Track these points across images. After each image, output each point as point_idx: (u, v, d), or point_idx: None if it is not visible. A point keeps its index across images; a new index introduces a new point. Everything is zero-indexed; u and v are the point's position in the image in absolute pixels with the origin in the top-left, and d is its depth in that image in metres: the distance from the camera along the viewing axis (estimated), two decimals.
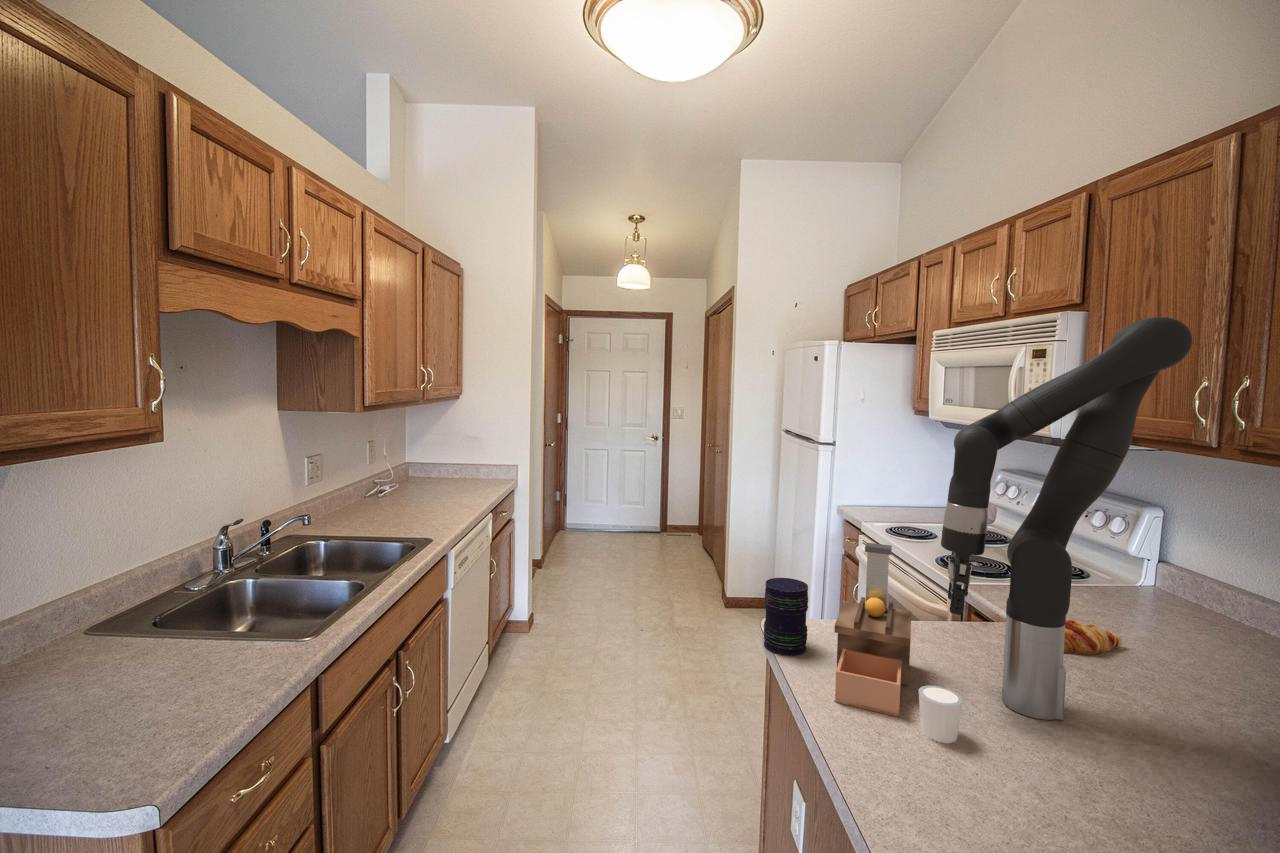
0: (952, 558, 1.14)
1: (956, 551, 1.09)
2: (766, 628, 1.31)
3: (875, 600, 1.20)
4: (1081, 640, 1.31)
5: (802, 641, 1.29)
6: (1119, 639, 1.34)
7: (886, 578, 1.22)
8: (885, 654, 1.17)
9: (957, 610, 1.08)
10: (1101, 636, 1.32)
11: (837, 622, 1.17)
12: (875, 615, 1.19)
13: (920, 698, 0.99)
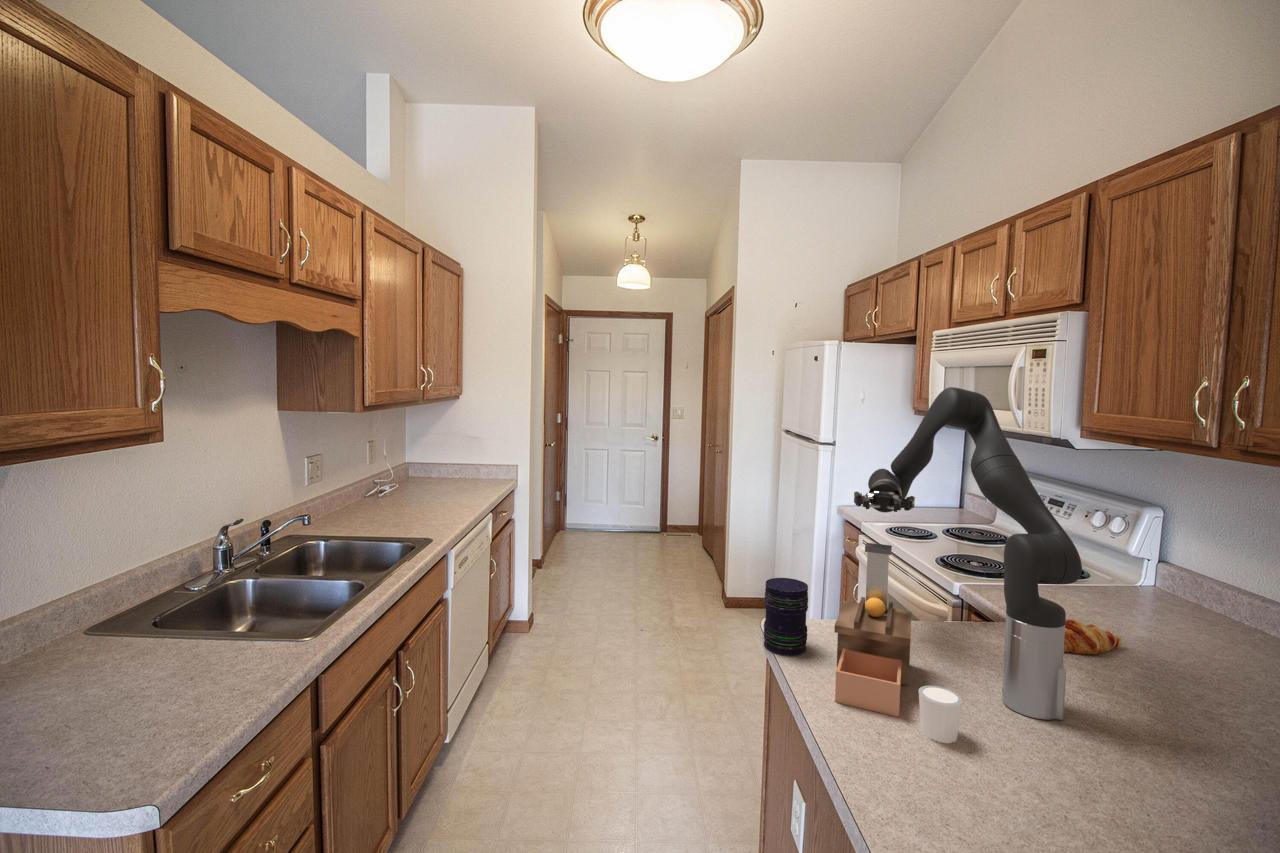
0: None
1: None
2: (766, 628, 1.31)
3: (875, 600, 1.20)
4: (1081, 640, 1.31)
5: (802, 641, 1.29)
6: (1119, 639, 1.34)
7: (886, 578, 1.22)
8: (885, 654, 1.17)
9: (863, 503, 1.31)
10: (1101, 636, 1.32)
11: (837, 622, 1.17)
12: (875, 615, 1.19)
13: (920, 698, 0.99)
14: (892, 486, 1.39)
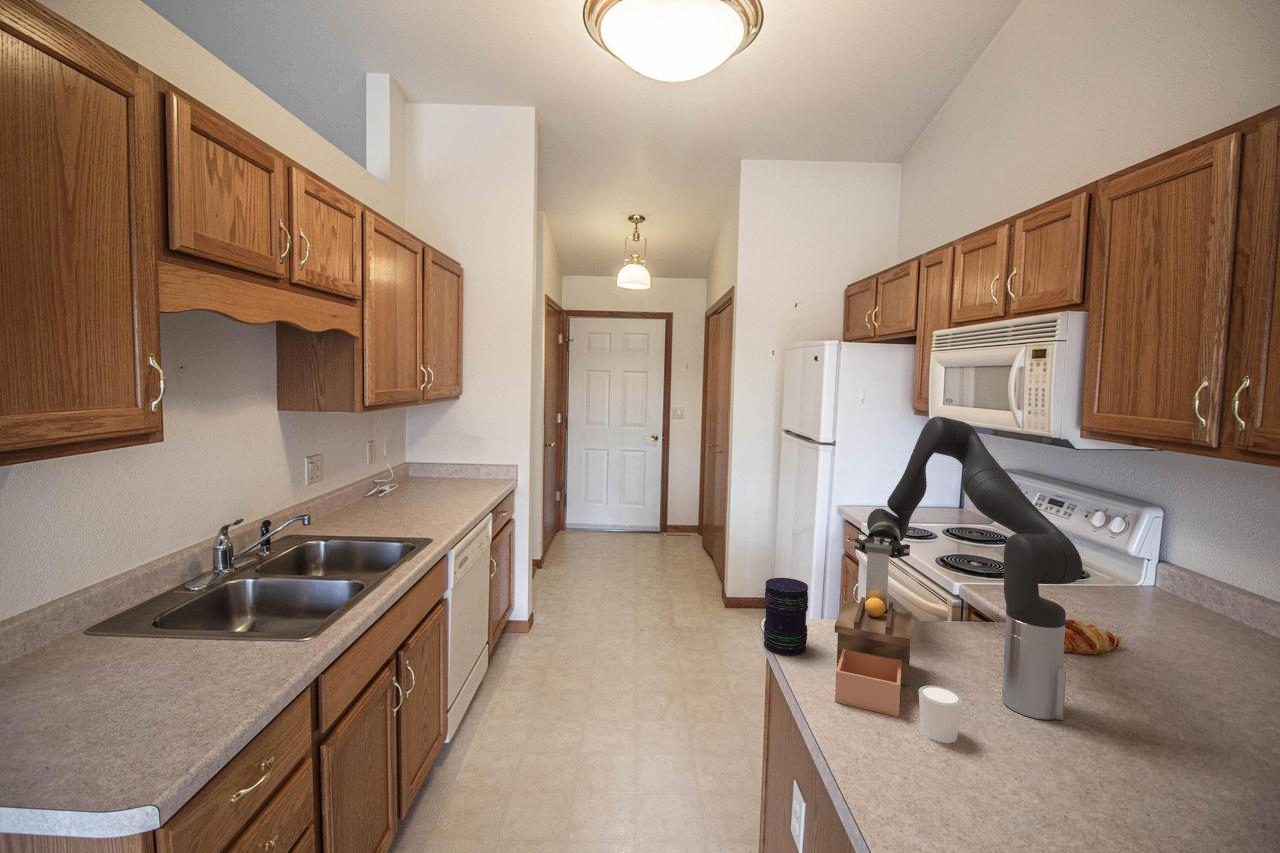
0: None
1: None
2: (766, 628, 1.31)
3: (875, 600, 1.20)
4: (1080, 640, 1.31)
5: (802, 641, 1.29)
6: (1120, 639, 1.34)
7: (886, 578, 1.22)
8: (885, 654, 1.17)
9: None
10: (1101, 636, 1.32)
11: (837, 622, 1.17)
12: (875, 615, 1.19)
13: (920, 698, 0.99)
14: (890, 532, 1.40)
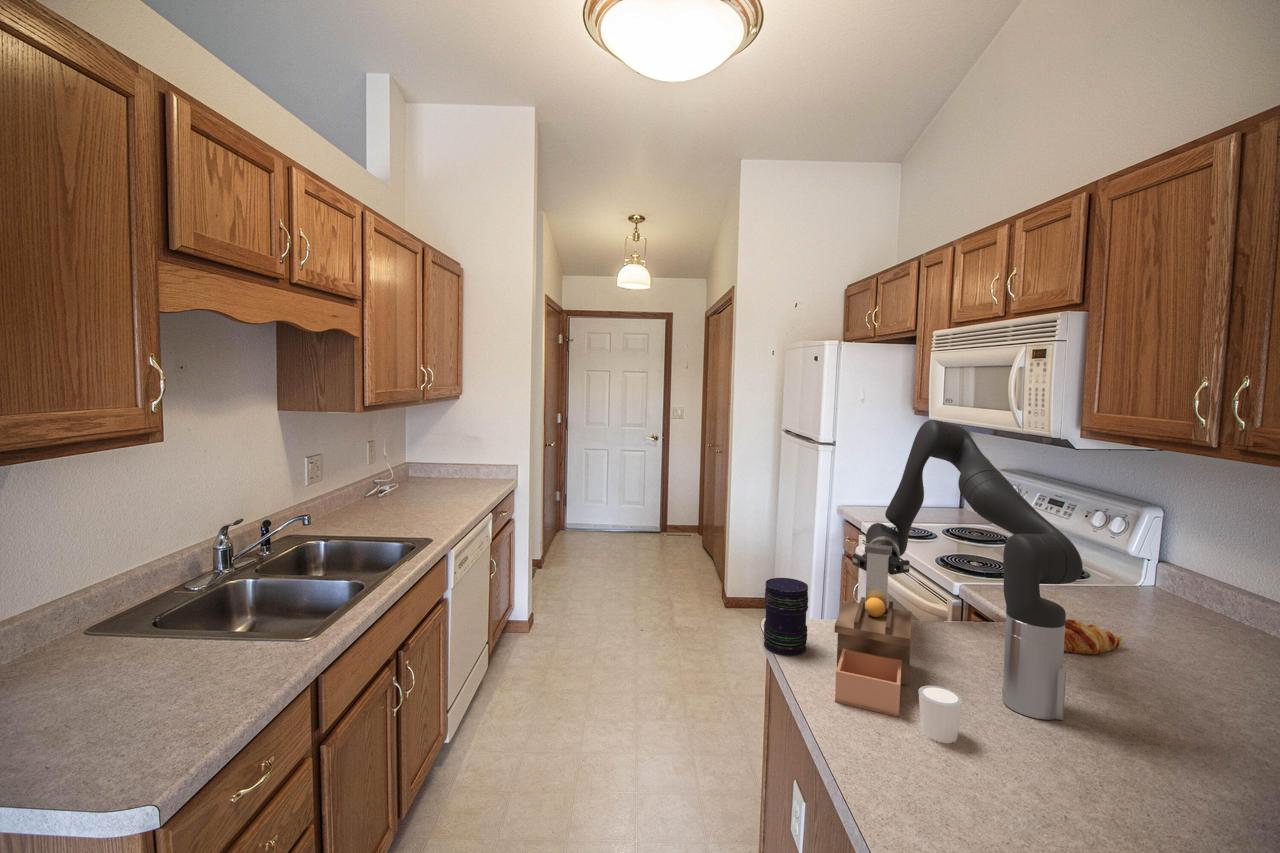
0: None
1: None
2: (766, 628, 1.31)
3: (875, 600, 1.20)
4: (1080, 640, 1.31)
5: (802, 641, 1.29)
6: (1120, 639, 1.34)
7: (886, 579, 1.22)
8: (885, 654, 1.17)
9: None
10: (1101, 636, 1.32)
11: (837, 622, 1.17)
12: (875, 615, 1.19)
13: (920, 698, 0.99)
14: None
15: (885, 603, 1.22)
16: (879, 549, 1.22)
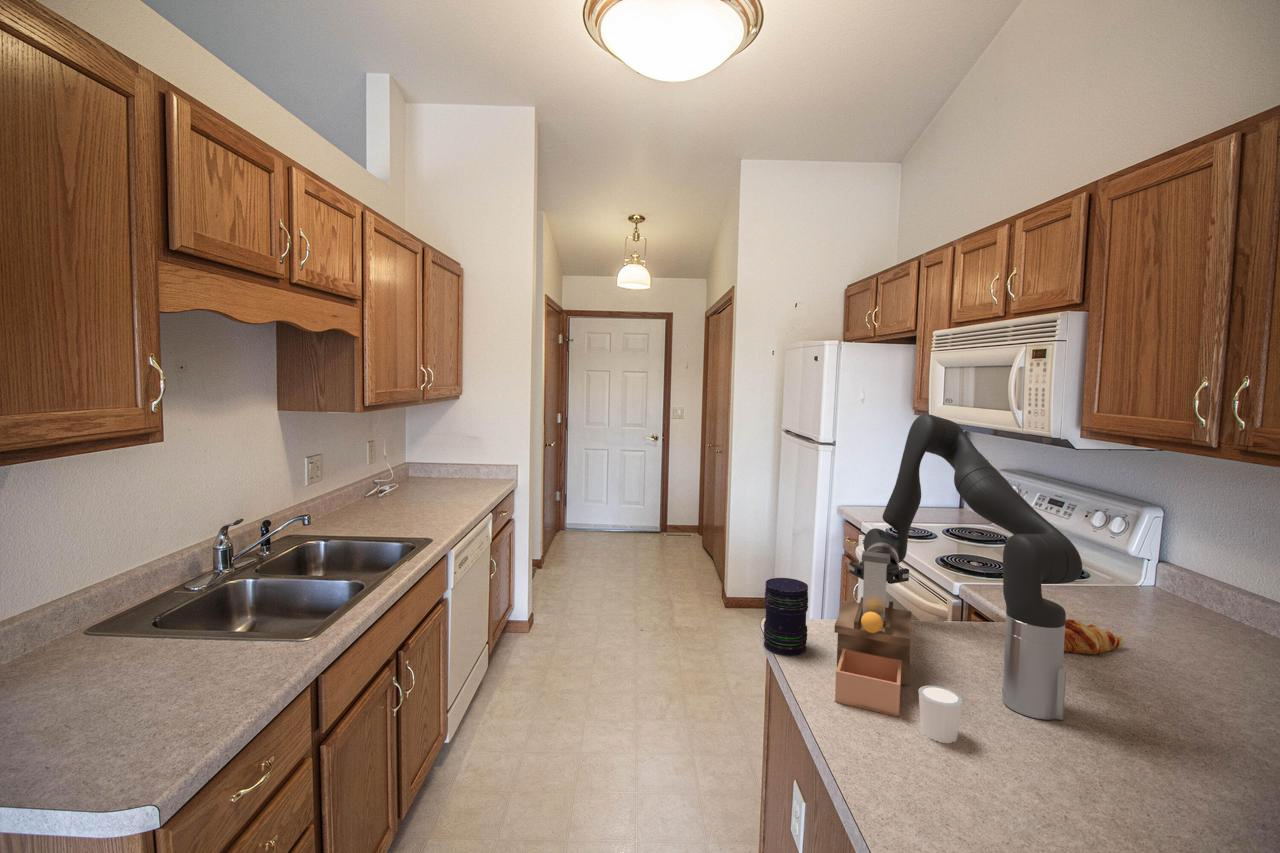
0: None
1: None
2: (766, 628, 1.31)
3: None
4: (1080, 640, 1.31)
5: (802, 641, 1.29)
6: (1120, 639, 1.34)
7: (884, 589, 1.15)
8: (885, 654, 1.17)
9: None
10: (1101, 636, 1.32)
11: (837, 622, 1.17)
12: (873, 615, 1.12)
13: (920, 698, 0.99)
14: None
15: (883, 614, 1.16)
16: (877, 557, 1.15)
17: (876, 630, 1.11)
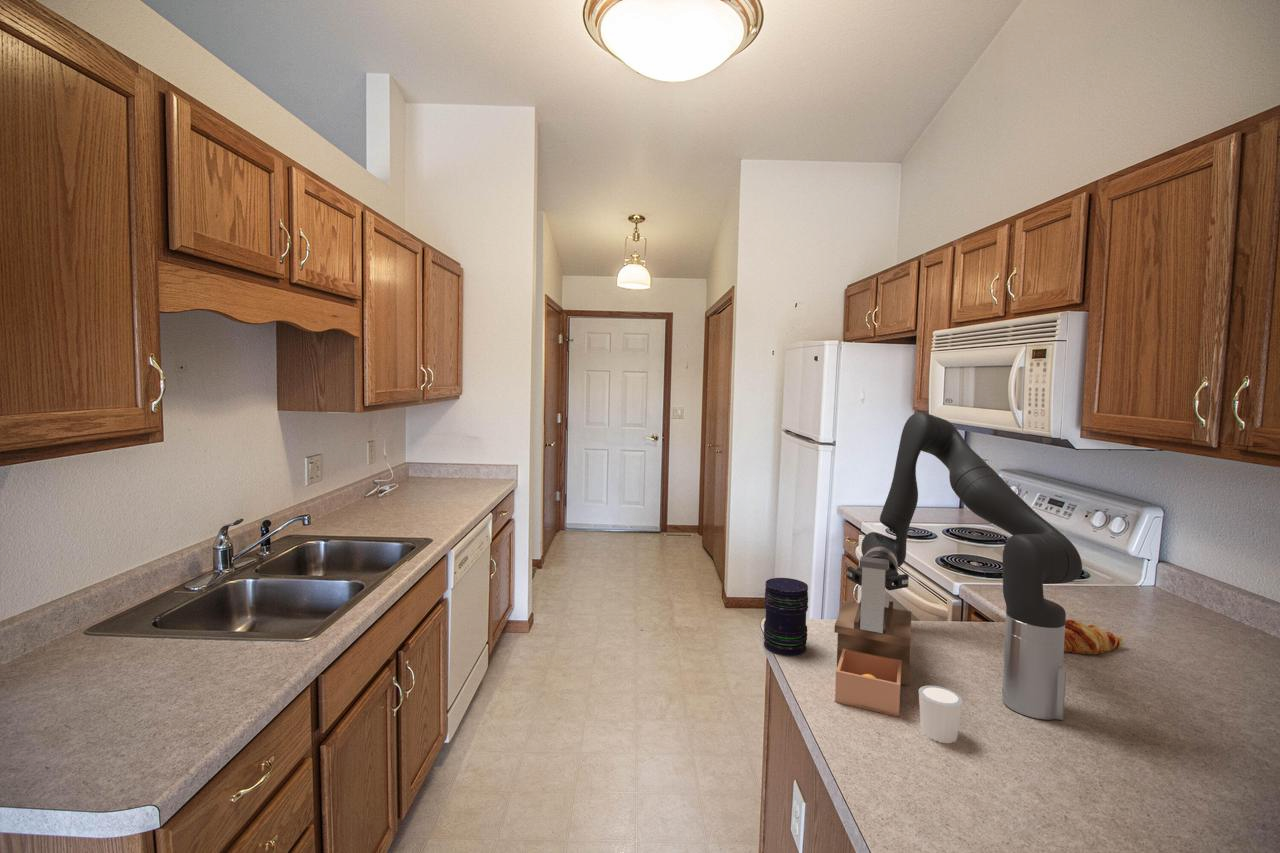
0: None
1: None
2: (766, 628, 1.31)
3: None
4: (1080, 640, 1.31)
5: (802, 641, 1.29)
6: (1120, 640, 1.34)
7: (883, 596, 1.11)
8: (885, 654, 1.17)
9: None
10: (1101, 636, 1.32)
11: (837, 622, 1.17)
12: None
13: (920, 698, 0.99)
14: (887, 559, 1.25)
15: (882, 622, 1.11)
16: (875, 563, 1.11)
17: None
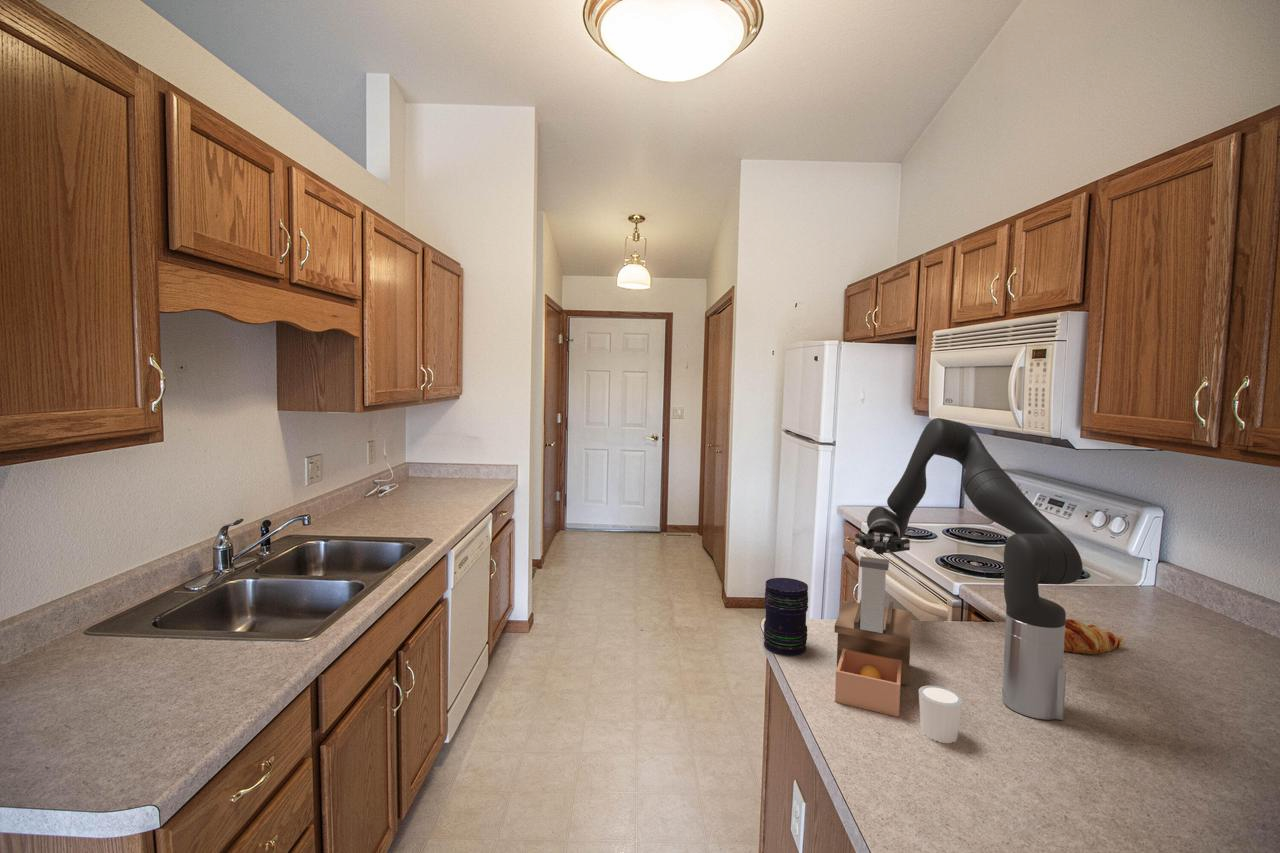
0: None
1: None
2: (766, 628, 1.31)
3: None
4: (1079, 640, 1.31)
5: (802, 641, 1.29)
6: (1121, 640, 1.34)
7: (883, 596, 1.11)
8: (885, 654, 1.17)
9: (873, 547, 1.32)
10: (1101, 636, 1.32)
11: (837, 622, 1.17)
12: (871, 673, 1.12)
13: (920, 698, 0.99)
14: (890, 527, 1.41)
15: (882, 622, 1.11)
16: (875, 563, 1.11)
17: None
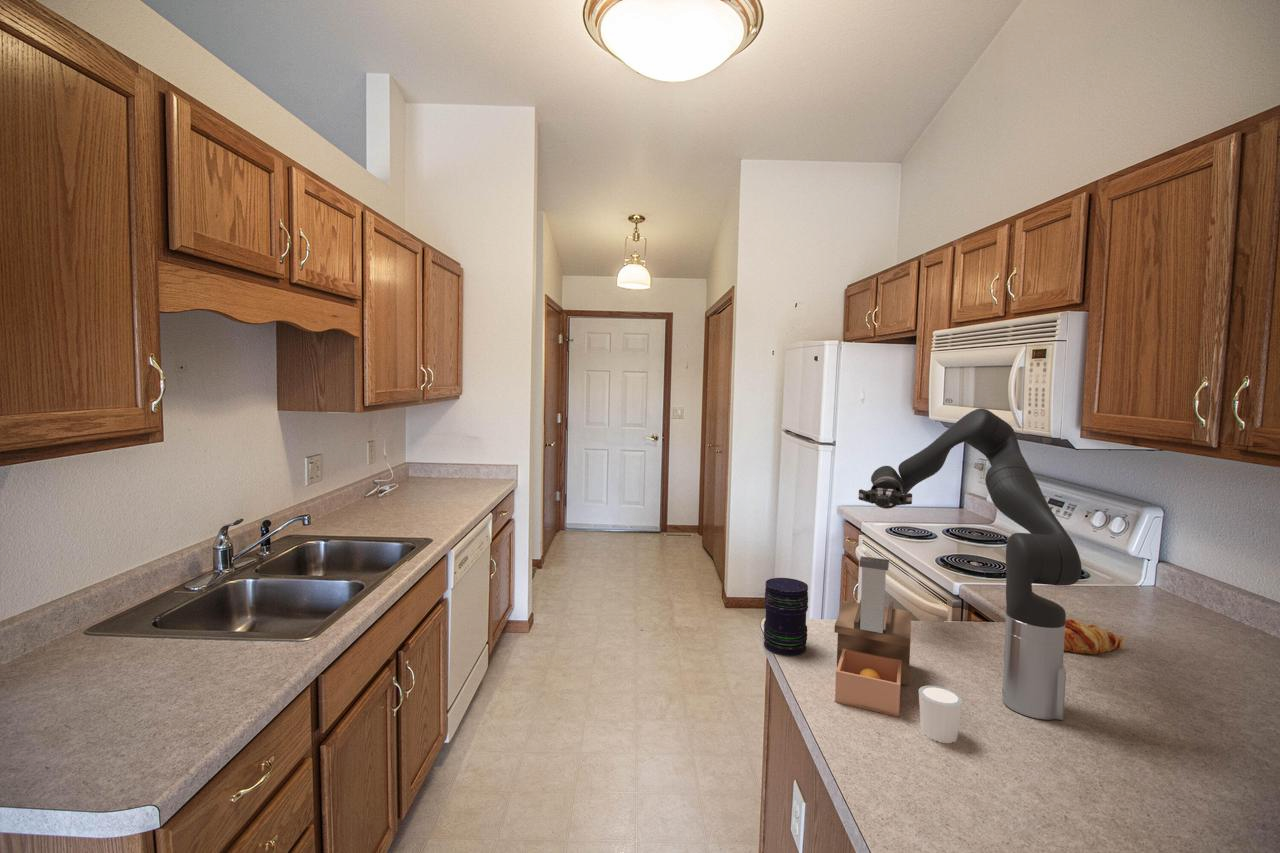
0: None
1: None
2: (766, 628, 1.31)
3: None
4: (1079, 640, 1.31)
5: (802, 641, 1.29)
6: (1121, 640, 1.34)
7: (883, 596, 1.11)
8: (885, 654, 1.17)
9: (876, 500, 1.35)
10: (1101, 636, 1.32)
11: (837, 622, 1.17)
12: None
13: (920, 698, 0.99)
14: (893, 483, 1.44)
15: (882, 622, 1.11)
16: (875, 563, 1.11)
17: None
